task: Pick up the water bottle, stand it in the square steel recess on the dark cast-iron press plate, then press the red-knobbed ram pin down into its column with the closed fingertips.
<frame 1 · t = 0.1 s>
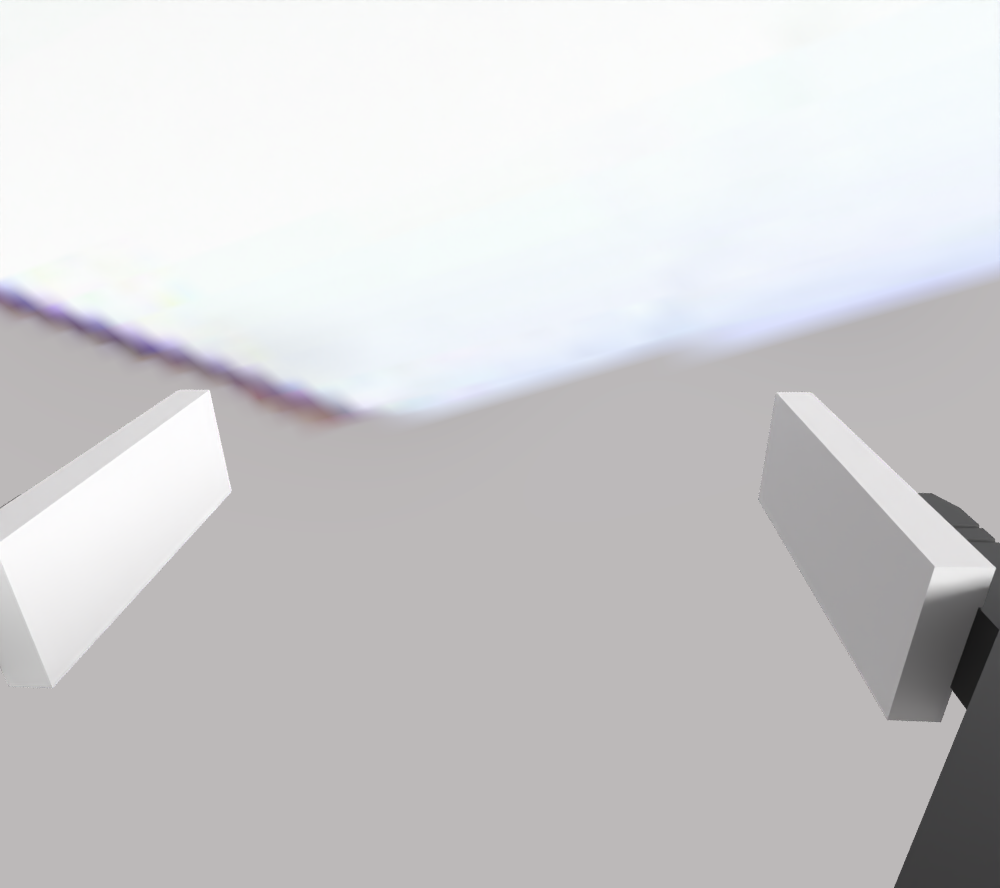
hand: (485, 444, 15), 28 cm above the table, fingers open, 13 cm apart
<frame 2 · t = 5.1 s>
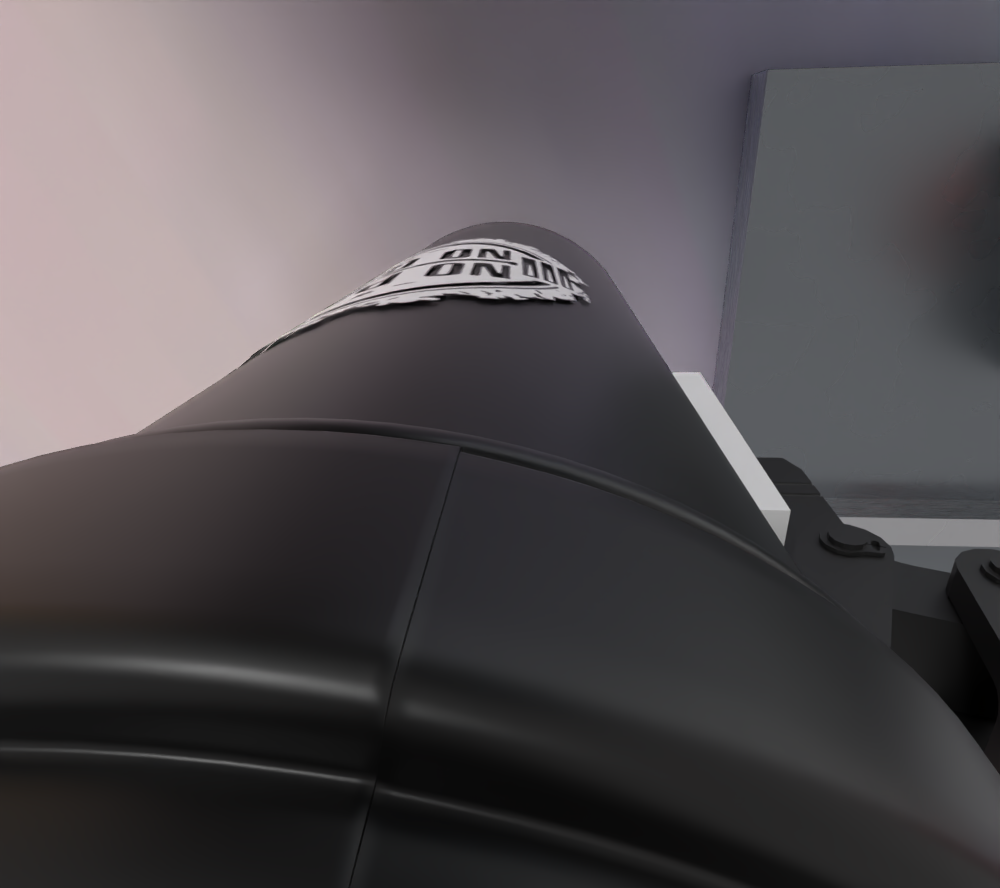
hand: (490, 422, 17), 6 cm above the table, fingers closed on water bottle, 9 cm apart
water bottle: (504, 352, 22), on the table, touching gripper
press: (925, 516, 23), on the table
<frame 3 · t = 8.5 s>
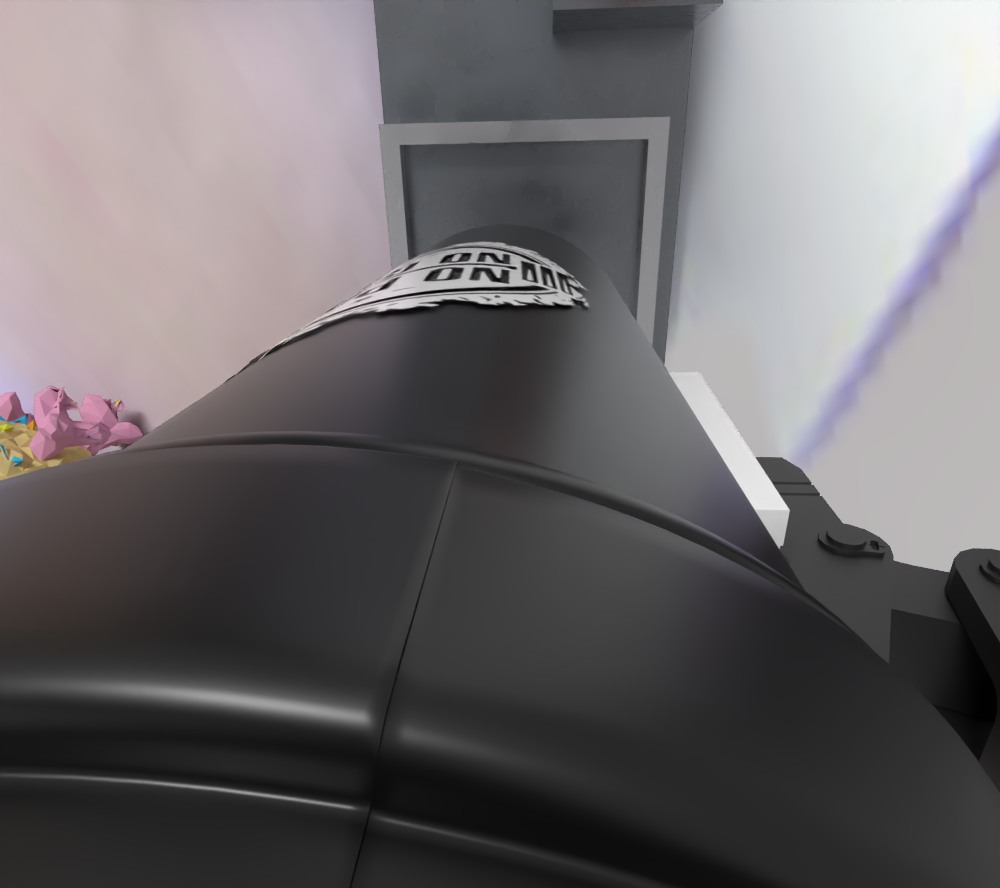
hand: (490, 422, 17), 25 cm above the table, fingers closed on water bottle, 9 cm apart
educational model: (96, 474, 48), on the table
water bottle: (504, 354, 22), point 19 cm above the table, touching gripper
press: (533, 151, 37), on the table
when the fingers open (9 cm above the table, at t = 11.8 s): water bottle drops 1 cm, resting on press.
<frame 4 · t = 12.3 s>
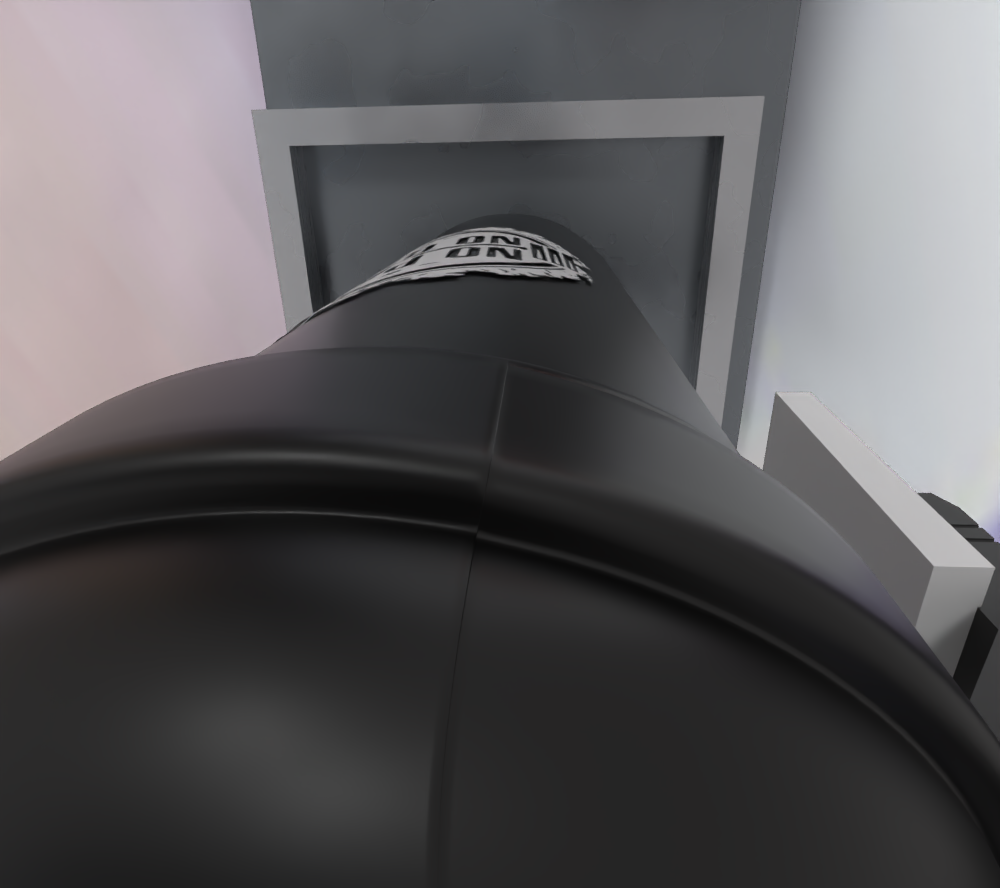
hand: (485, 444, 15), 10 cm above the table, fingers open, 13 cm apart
water bottle: (509, 337, 23), point 1 cm above the table, touching press
press: (521, 157, 22), on the table
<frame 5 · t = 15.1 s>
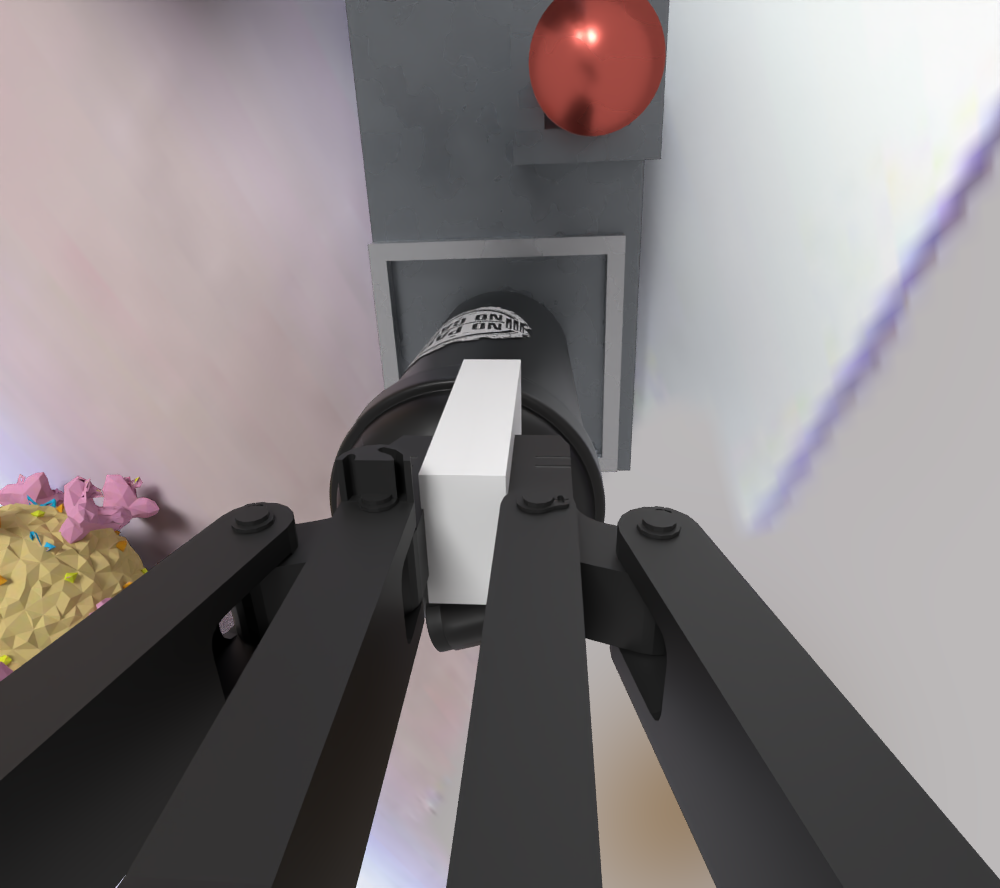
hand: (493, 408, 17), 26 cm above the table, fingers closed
ram pin: (590, 72, 28), point 10 cm above the table, slide at 0.0 cm
educational model: (117, 541, 52), on the table
water bottle: (502, 356, 42), point 1 cm above the table, touching press
press: (507, 259, 41), on the table
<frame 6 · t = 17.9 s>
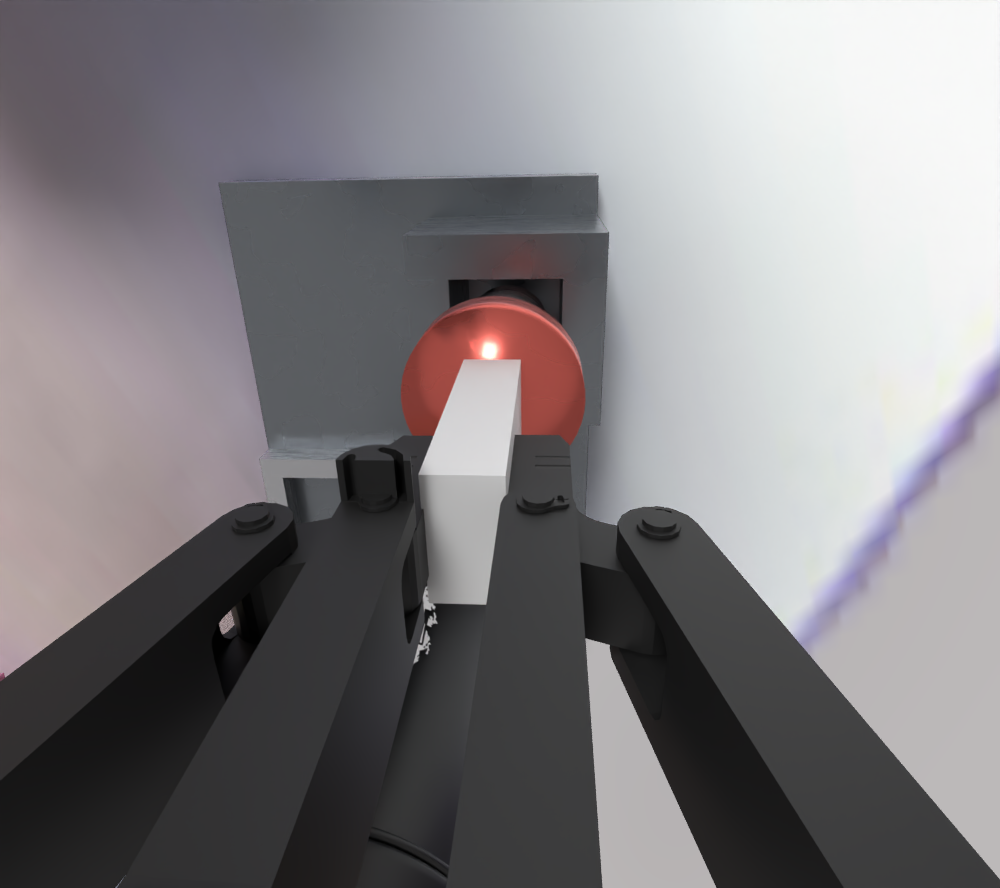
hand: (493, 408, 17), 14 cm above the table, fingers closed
ram pin: (501, 356, 21), point 10 cm above the table, slide at 0.0 cm, touching gripper
water bottle: (427, 570, 36), point 1 cm above the table, touching press
press: (432, 463, 34), on the table
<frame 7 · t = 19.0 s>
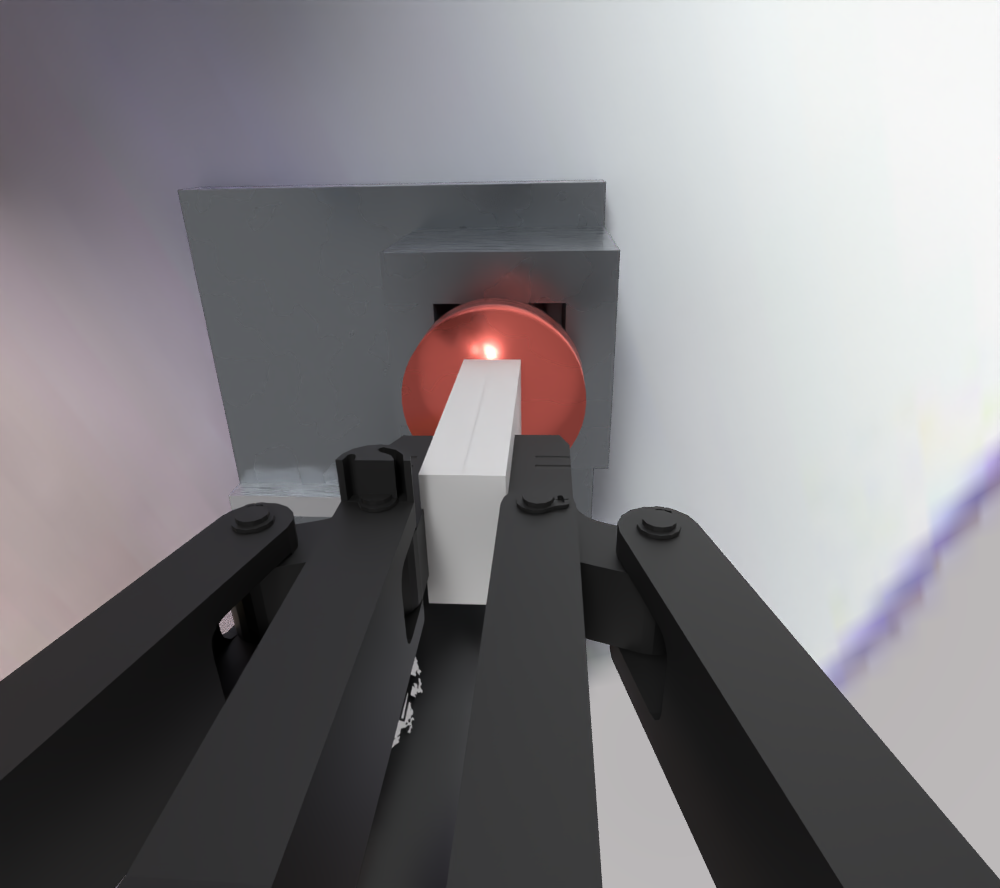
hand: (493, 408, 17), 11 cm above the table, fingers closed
ram pin: (502, 357, 21), point 7 cm above the table, slide at 3.5 cm, touching gripper
water bottle: (416, 613, 33), point 1 cm above the table, touching press
press: (421, 497, 31), on the table
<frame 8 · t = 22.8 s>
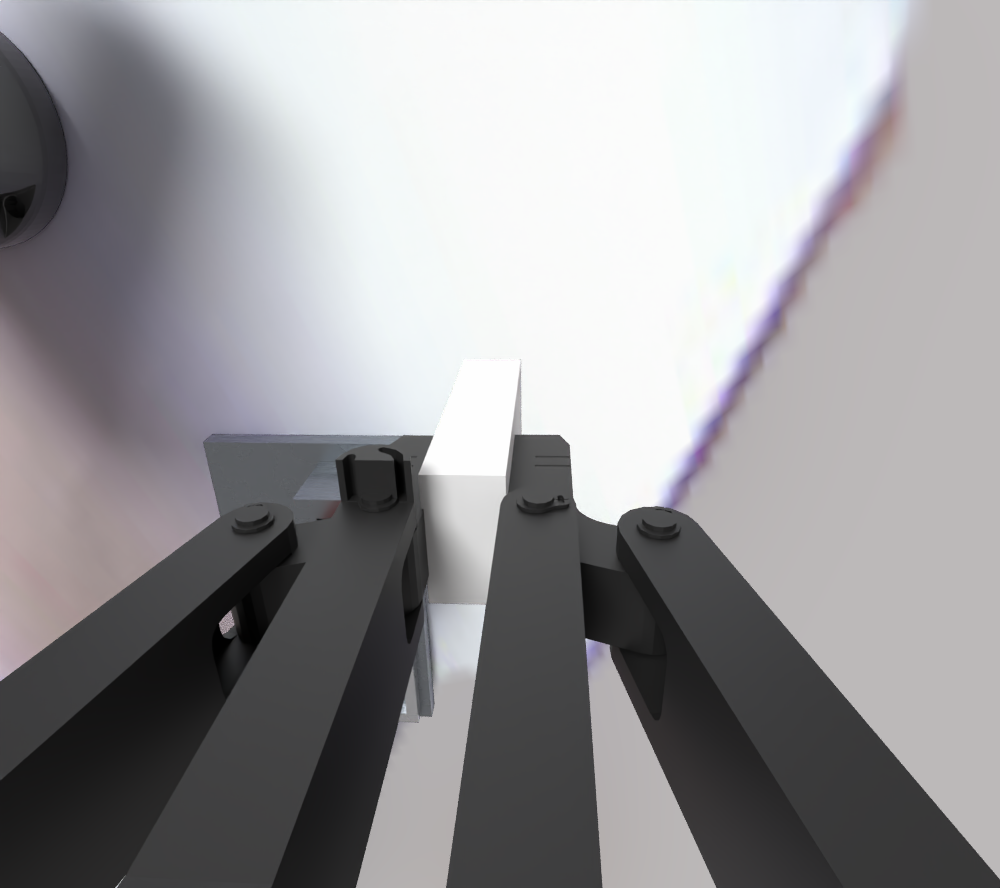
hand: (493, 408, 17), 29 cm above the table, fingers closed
press: (333, 581, 57), on the table
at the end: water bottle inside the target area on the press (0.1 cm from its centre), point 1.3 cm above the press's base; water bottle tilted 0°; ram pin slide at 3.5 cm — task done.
